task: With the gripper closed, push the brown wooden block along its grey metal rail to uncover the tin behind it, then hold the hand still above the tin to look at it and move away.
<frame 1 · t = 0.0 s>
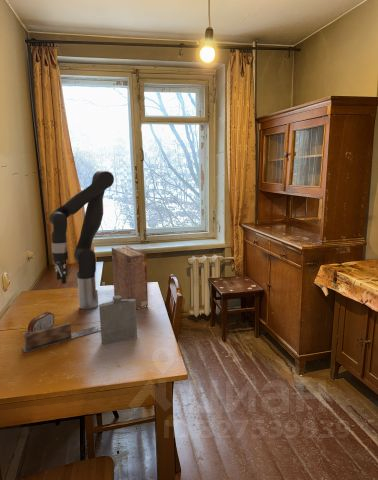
hand: (61, 281, 183), 17 cm above the table, tool pointing down, fingers open, 8 cm apart
tin: (42, 332, 165), on the table
book: (130, 302, 201), on the table
hip flask: (119, 339, 158), on the table
brown wooden block: (48, 335, 154), point 4 cm above the table, slide at 0.0 cm
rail: (66, 338, 159), on the table
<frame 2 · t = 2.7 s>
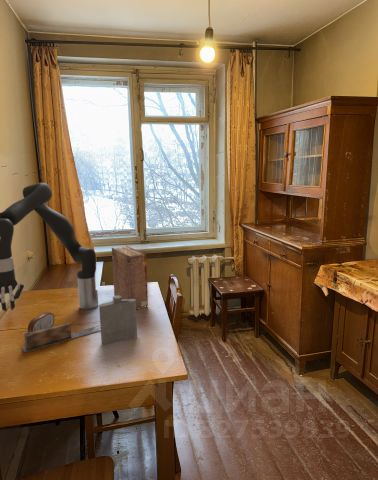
hand: (8, 309, 143), 19 cm above the table, tool pointing down, fingers closed
nothing on the table moved.
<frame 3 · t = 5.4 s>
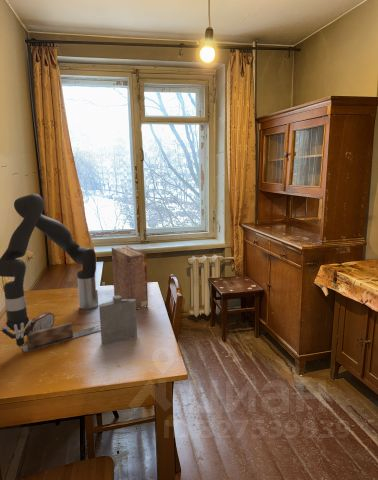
hand: (20, 345, 148), 2 cm above the table, tool pointing down, fingers closed
brown wooden block: (50, 334, 154), point 4 cm above the table, slide at 0.8 cm, touching gripper
everything else where it was.
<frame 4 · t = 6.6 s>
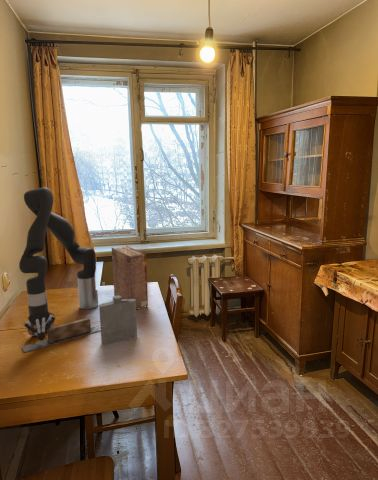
hand: (41, 339, 153), 2 cm above the table, tool pointing down, fingers closed
brown wooden block: (69, 329, 159), point 4 cm above the table, slide at 9.1 cm, touching gripper
everything else where it was.
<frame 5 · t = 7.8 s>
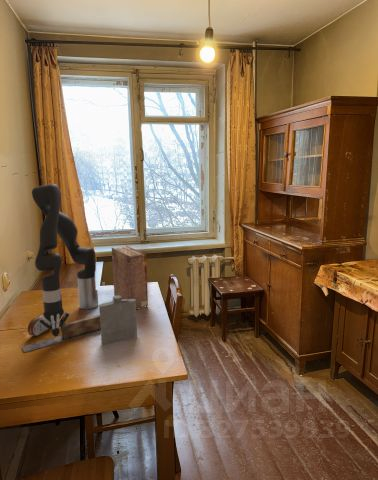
hand: (55, 335, 156), 2 cm above the table, tool pointing down, fingers closed
brown wooden block: (82, 326, 162), point 4 cm above the table, slide at 15.1 cm, touching gripper
everything else where it was.
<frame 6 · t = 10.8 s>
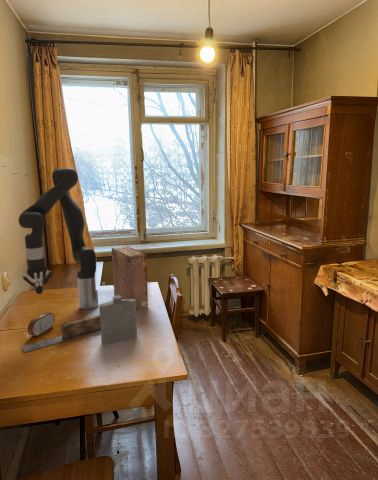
hand: (39, 293, 161), 19 cm above the table, tool pointing down, fingers closed
brown wooden block: (83, 326, 163), point 4 cm above the table, slide at 15.3 cm
everything else where it was.
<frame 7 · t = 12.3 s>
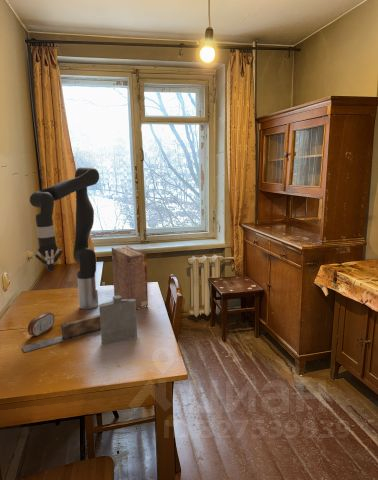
hand: (50, 271, 167), 27 cm above the table, tool pointing down, fingers closed
nothing on the table moved.
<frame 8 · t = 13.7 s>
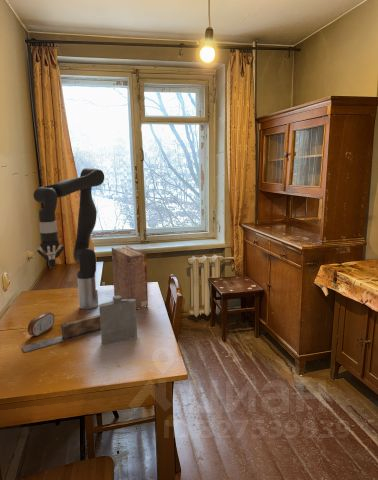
hand: (52, 266, 168), 29 cm above the table, tool pointing down, fingers closed
nothing on the table moved.
at the end: brown wooden block slide at 15.3 cm; tin moved 0.3 cm from its start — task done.
